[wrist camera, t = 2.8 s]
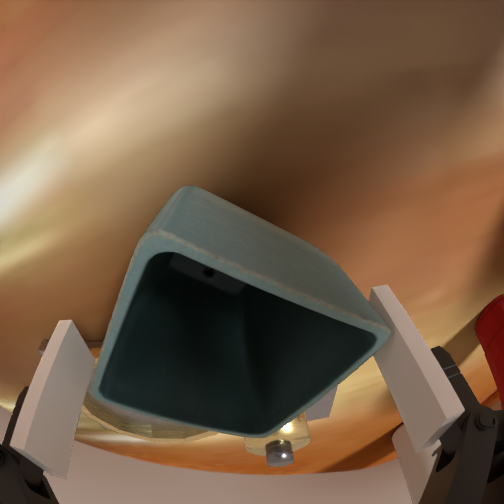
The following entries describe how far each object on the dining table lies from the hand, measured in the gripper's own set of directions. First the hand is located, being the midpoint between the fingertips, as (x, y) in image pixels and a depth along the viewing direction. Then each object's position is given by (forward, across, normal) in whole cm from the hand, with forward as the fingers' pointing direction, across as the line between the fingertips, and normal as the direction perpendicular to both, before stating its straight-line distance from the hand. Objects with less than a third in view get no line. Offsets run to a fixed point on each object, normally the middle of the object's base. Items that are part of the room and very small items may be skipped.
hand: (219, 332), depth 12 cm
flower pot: (+6, 0, 0) cm, 6 cm away
